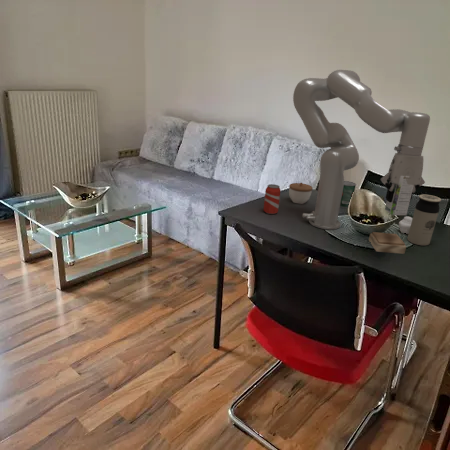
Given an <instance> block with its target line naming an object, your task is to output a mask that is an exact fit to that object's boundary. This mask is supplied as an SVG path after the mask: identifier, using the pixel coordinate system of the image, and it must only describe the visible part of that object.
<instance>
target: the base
mask: <svg viewBox="0 0 450 450" xmlns="http://www.w3.org/2000/svg"><path fill="white" fill-rule="evenodd" d="M368 241H369V243H370V242H371V243H370V244H371V246H372V247H373V248H374V249H373V250H375V252H379V253H391V254H402V255H405V252H406V249H407V245H406V243H405V242H404V241H403V240H402V238H401V237H400V236H399V235H398V234H397V233H388V232H375V231H372V233H370V234H369V237H368Z"/></svg>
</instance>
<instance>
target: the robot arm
mask: <svg viewBox="0 0 450 450" xmlns="http://www.w3.org/2000/svg"><path fill="white" fill-rule="evenodd" d="M372 92H373V91H372V88H370V87H369V86H368V85H366V84H365V83H363V82H362V81H361V79H360V75H359V74H358V73H357V72H355V71H354V70H346V69H337V70H333V71H331V73H329V74H328V76H327V77H326V78H319V77H309V78H304V79H302V80H300V81H299V82H298V83H297V85H296V86H295V87H294V91H293V94H292V96H293V97H292V99H293V100H292V101H293V106H294V109H295V111H296V113H297V114H298V116H299V118H300V119H301V121H302V122H303V125H304V127H305V129H306V131H307V133H308V134H309V137H310V139H311V141H312V143H313V144H314V146H315V147H316V148H319V149H327V148H328V149H327V150H326V151H325V150H324V152H323V154H321V157H320V160H319V161H320V163H319V167H320V168H319V169H320V170H319V171H320V172H319V181H318V189H317V194H316V200H315V201H316V202H315V206H314V208H315V209H314V210H312V212H310V213H307V212H303V213H302V217H301V218H303V219H306V220H308V221H309V224H310V225H312V226H313V227H316V228H318V229H322V230H330V231H331V230H337V229H339V228H340V227H341V222H340V221H339V219H338V218H339V213H340V208H341V207H340V203H341V197H342V192H343V186H344V181H345V177H344V171H349V170H351V169H354V168H355V167H356V166H357V165H358V163H359V161H360V155H359V152H358V149H357V148H356V144H354V141H353V140H352V138H351V136H350V134H349V132H348V131H347V128H346V127H344V125H342V124H341V123H339V122H329V120H328V119H327V117H326V115H325V113H324V111H323V110H322V108H321V107H320V106H319V105H318V104H317V103H316V102H323V101H329V100H334V99H336V98H338V99H340V100H341V101H343V102H344V103H346V105H348V106H349V107H351V108H352V109H353V110H354V112H355V113H356V114H357V116H358V117H359V119H360V120H361V121H363V123H364V124H366V125H368V126H369V127H371V128H372V129H374V130H375V131H377V132H379V133H382V134H389V133H390V134H391V133H400V139H399V144H398V145H397V146H394V147H393V148H394V149H393V150H394V151H396V152H395V153H394V155H393V157H392V159H391V162H390V165H389V169H388V172H386V174H385V175H383V176H382V177H380V181H381V183H382V184H383V185H384V187H385V188H386V189H387V190H386V196H385V198H386V199H385V200H386V202H387V201H388V202H392V199H393V194H394V192H393V189H394V188H395V186H396V184H399V180H400V176H402V175H403V176H404V175H409V179H408V178H407V177H406V176H404V177H406V178H407V179H406V181H407V184H409V185H414V187H413V191H412V195H411V199H410V202H411V201H412V199H413V195H414V193H416V191H417V190H418V189H420V188H421V186H423V185H425V184H426V181H425V180H424V178H423V177H422V175H423V170H424V156H423V155H422V153H423V150H424V146H425V141H426V138H427V133H428V130H429V124H430V121H431V117H430V116H431V115H430V114H428V113H423V112H414V111H412V112H411V111H408V110H404V109H400V108H399V109H396V108H394V109H388V108H386V107H384V106H383V105H382V104H380V103H379V102H377V100H375V99H374V98H373V96H372ZM388 181H389V182H388Z"/></svg>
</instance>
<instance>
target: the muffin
mask: <svg viewBox="0 0 450 450" xmlns="http://www.w3.org/2000/svg"><path fill="white" fill-rule="evenodd" d="M412 219H413V217H411V216H407V215H406V216H404V217H403V218H402V220H400V221H399V222H398V227H399V230H400V233H402V232H403V233H402V234H404V233H406V234H405V235H408V234H409V230H410V226H411V222H412Z"/></svg>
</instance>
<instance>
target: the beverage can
mask: <svg viewBox="0 0 450 450" xmlns="http://www.w3.org/2000/svg"><path fill="white" fill-rule="evenodd" d="M281 191H282V190H281V188H280V185H278V184H273V183H272V184H268V185H267V186H266V188H265V192H264V193H265V194H264V202H263V212H265V214H267V215H276V214H277V213H278V212H279V207H280V200H281V199H280V198H281Z"/></svg>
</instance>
